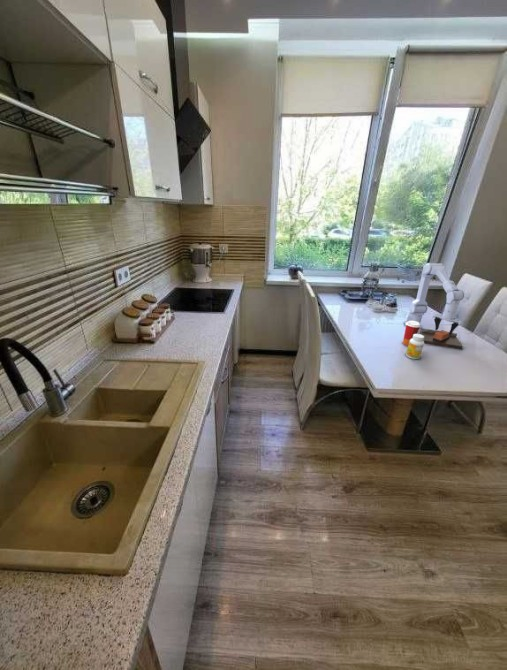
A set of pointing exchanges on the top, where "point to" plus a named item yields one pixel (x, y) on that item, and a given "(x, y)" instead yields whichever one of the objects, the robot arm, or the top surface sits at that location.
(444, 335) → the reddish orange block
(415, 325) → the paper cup
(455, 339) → the shelf board
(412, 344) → the supplement bottle
